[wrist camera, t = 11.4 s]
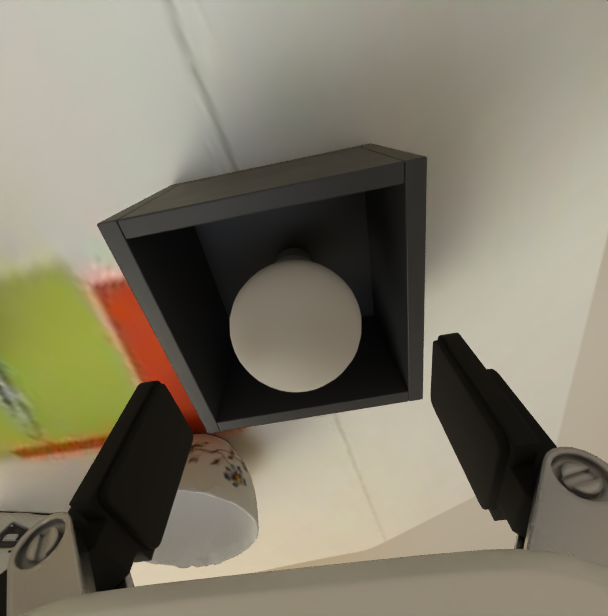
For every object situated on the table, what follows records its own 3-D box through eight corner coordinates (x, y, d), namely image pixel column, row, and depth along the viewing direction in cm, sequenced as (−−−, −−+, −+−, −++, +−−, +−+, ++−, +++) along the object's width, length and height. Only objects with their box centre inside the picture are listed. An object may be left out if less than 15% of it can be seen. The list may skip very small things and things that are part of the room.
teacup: (284, 464, 35) (283, 549, 28) (190, 495, 37) (167, 580, 30) (208, 374, 27) (181, 458, 21) (97, 419, 30) (39, 507, 23)
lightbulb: (352, 271, 22) (401, 382, 13) (282, 313, 24) (279, 439, 14) (306, 197, 19) (324, 268, 10) (230, 249, 21) (182, 354, 11)
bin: (371, 143, 19) (427, 156, 11) (382, 316, 25) (422, 399, 18) (170, 185, 19) (95, 224, 12) (231, 343, 26) (207, 434, 18)
